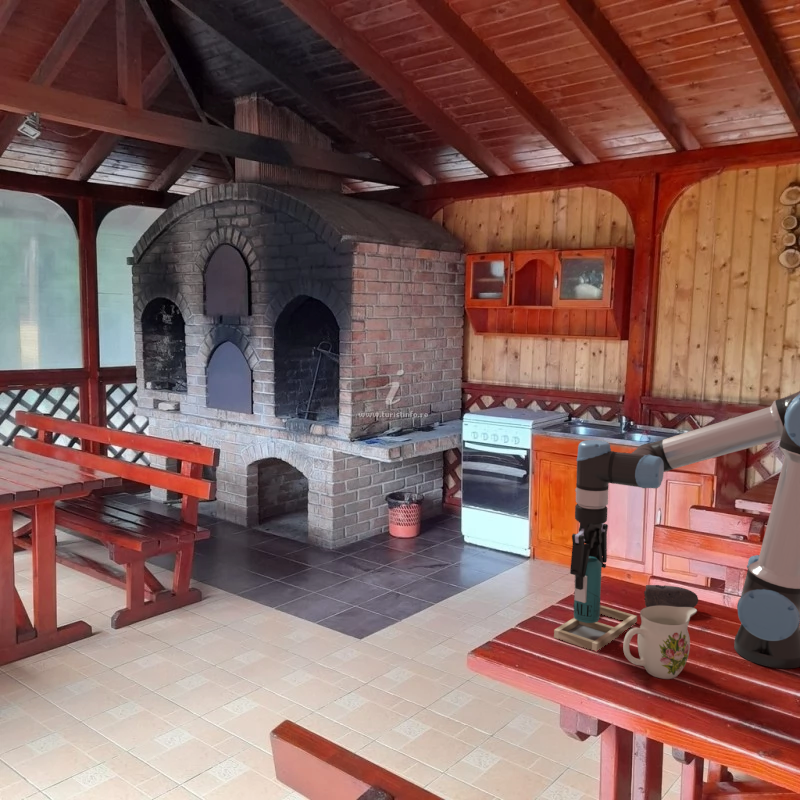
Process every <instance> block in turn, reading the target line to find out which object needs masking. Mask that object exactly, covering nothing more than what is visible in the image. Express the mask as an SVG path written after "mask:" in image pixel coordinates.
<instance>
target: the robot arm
mask: <svg viewBox="0 0 800 800" xmlns="http://www.w3.org/2000/svg"><path fill="white" fill-rule="evenodd" d="M775 441H779V446H778V448H779V449H780V451H781V453H783V455H784V457H783V461H782V465H781V469H780V473H779V477H778V481H777V486H776V489H775V493H774V496H773V500H772V504H771V508H770V512H769V517H768V519H767V520H768V521H767V525H766V528H765V532H764V536H763V539H762V544H761V549H760V552H759V555H758V554H755V555H752V556H750V557H749V558H748V560H747V561H748V562H747V565H746V568H747V572H746V576H745V579H744V584H743V587H742V590H741V591H742V592H741V595H740V598H739V600H738V602H737V604H736V610H737V616H738V620H739V622H740V623H741V624H740V626H739V628H738V631H737V633H736V635H735V637H734V643H733V645H734V650H735V652H736V653H737V654H738V655H739V656H740V657H742V658H744V659H745V660H748V661H749V662H752V663H755V664H757V665H761V666H765V667H769V668H773V669H774V668H775V669H795V668H796V669H797V668H800V390H799V391H797V392H795V393H792V394H790V395H788V396H784V397H782V398H779V399H776V400H773V402H772V404H771V405H770V406H767V407H765V408H762V409H758V410H755V411H752V412H749V413H748V412H747V413H745V414H742V415H739V416H736V417H731V418H729V419H725V420H723V421H722V420H721V421H719V422H716V423H713V424H710V425H706V426H703V427H699V428H696V429H693V430H690V431H687V432H684V433H680V434H677V435H674V436H671V437H668V438H664V439H661V440H657V441H653V442H646V443H644V444H640V445H639V446H638V447H637V448H636V449H634V451H632V452H619V451H615V450H612V448H611V444H610V443H609V442H608V441H604V440H601V439H600V440H599V439H585V440H582V441H581V442H580V443H578V445H577V454H576V455H577V457H576V484H575V485H576V488H575V490H574V491H575V502H576V504H575V507H574V509H575V510H574V519H575V520H576V521H577V522H578V523H579V527H578V533H572V535H571V539H572V540H571V541H572V546H571V547H572V548H571V549H572V550H571V559H570V570H569V573H570V574H571V575H573V576H574V581H575V583H574V592H575V593H574V597H575V600H576V601H580V602H583V603H586V595H587V576H585V574H586V569H587V564H588V559H589V554H590V549H592V548H593V544H594V545H596V546H597V547H598V555H597V556H591V557H595V558H597V559H598V560H599V561H600V562H601V563H602V568H603V569H605V568H606V567H607V560H608V556H607V555H608V552H607V550H608V548H607V547H608V543H607V542H608V538H607V537H608V536H607V534H608V529H609V528H608V527H609V525H608V523H606V522H607V521H608V509H609V508H608V507H607V506H608V505H609V484H613V485H614V484H615V485H621V486H629V487H637V488H642V489H658V488H660V487H661V486H662V482H663V479H664V473H666V472H669V471H671V470H674V469H675V470H676V469H678V468H681V467H686V466H689V465H692V464H696V463H699V462H704V461H707V460H710V459H714V458H717V457H720V456H724V455H728V454H731V453H735V452H736V453H737V452H740V451H743V450H745V449H746V450H747V449H750V448H753V447H756V446H760V445H764V444H767V443H771V442H775ZM586 544H589V545H586ZM601 571H602V569H601ZM601 590H602V588H601V589H600V593H602V591H601Z"/></svg>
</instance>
